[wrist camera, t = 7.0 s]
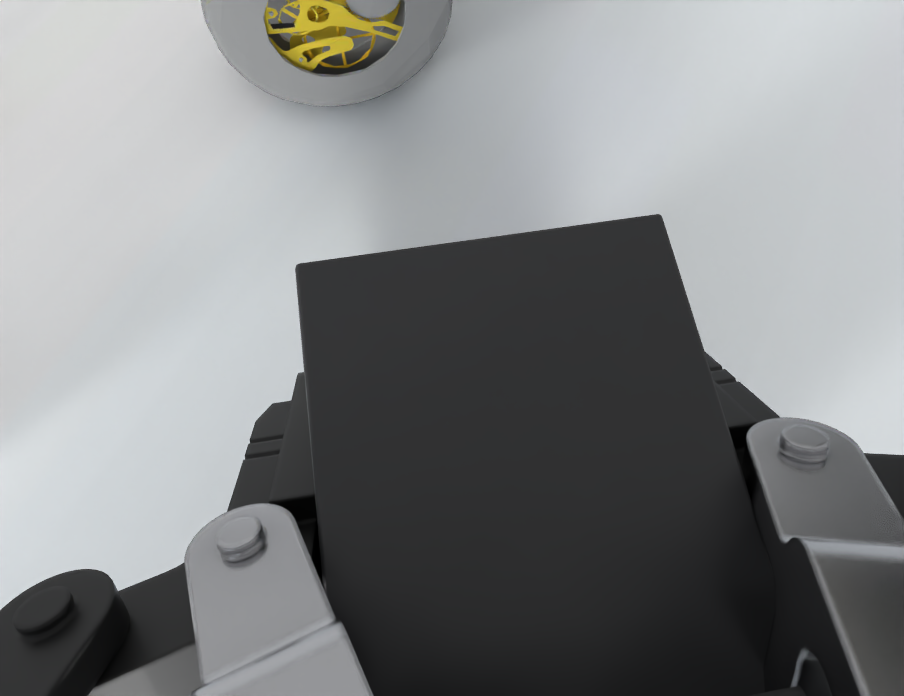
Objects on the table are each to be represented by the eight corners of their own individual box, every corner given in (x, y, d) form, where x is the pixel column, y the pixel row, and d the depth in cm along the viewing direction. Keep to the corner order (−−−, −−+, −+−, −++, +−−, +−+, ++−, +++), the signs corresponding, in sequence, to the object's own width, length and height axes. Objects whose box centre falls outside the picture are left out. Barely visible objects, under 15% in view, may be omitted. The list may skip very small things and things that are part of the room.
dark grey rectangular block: (602, 626, 15) (830, 742, 6) (402, 662, 14) (342, 840, 6) (548, 383, 16) (661, 211, 8) (372, 411, 16) (294, 262, 8)
